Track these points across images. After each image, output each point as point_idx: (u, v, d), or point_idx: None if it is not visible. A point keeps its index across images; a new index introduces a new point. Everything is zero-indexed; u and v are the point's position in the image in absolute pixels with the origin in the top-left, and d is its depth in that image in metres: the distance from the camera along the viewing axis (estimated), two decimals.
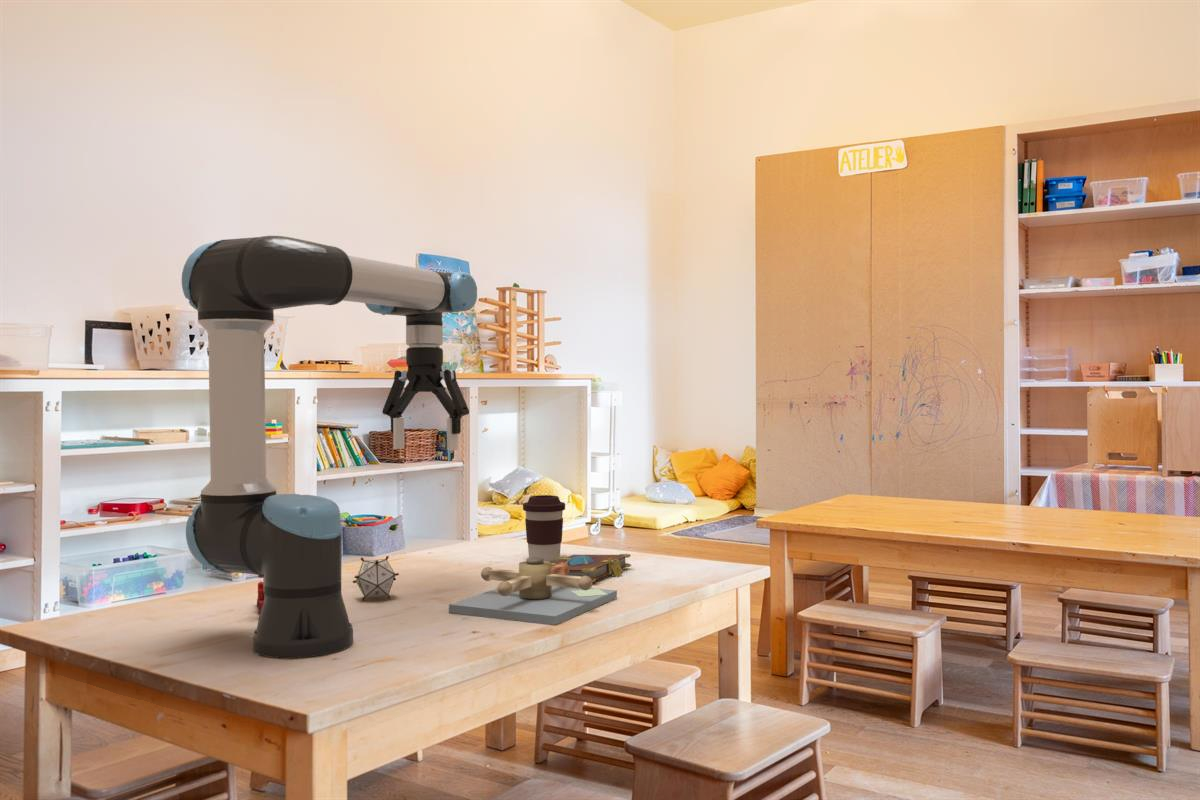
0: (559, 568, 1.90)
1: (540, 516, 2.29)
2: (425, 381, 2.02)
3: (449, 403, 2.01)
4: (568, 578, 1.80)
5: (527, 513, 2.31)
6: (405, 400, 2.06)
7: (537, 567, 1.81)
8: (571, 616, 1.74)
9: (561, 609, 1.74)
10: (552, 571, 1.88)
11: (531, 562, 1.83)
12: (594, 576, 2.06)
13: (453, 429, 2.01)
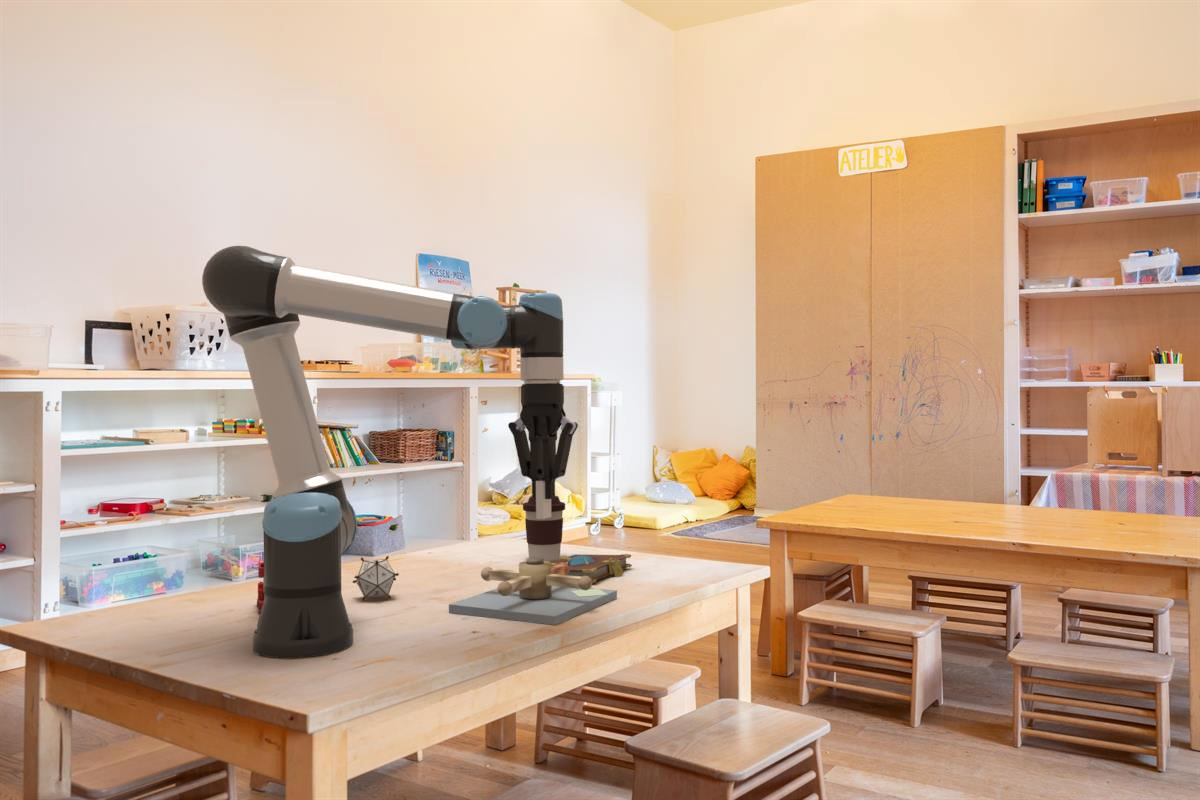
0: (559, 568, 1.90)
1: None
2: (542, 423, 1.70)
3: (551, 462, 1.71)
4: (568, 578, 1.80)
5: (527, 513, 2.31)
6: (537, 451, 1.72)
7: (537, 567, 1.81)
8: (571, 616, 1.74)
9: (561, 609, 1.74)
10: (552, 571, 1.88)
11: (531, 562, 1.83)
12: (594, 576, 2.06)
13: (547, 493, 1.72)
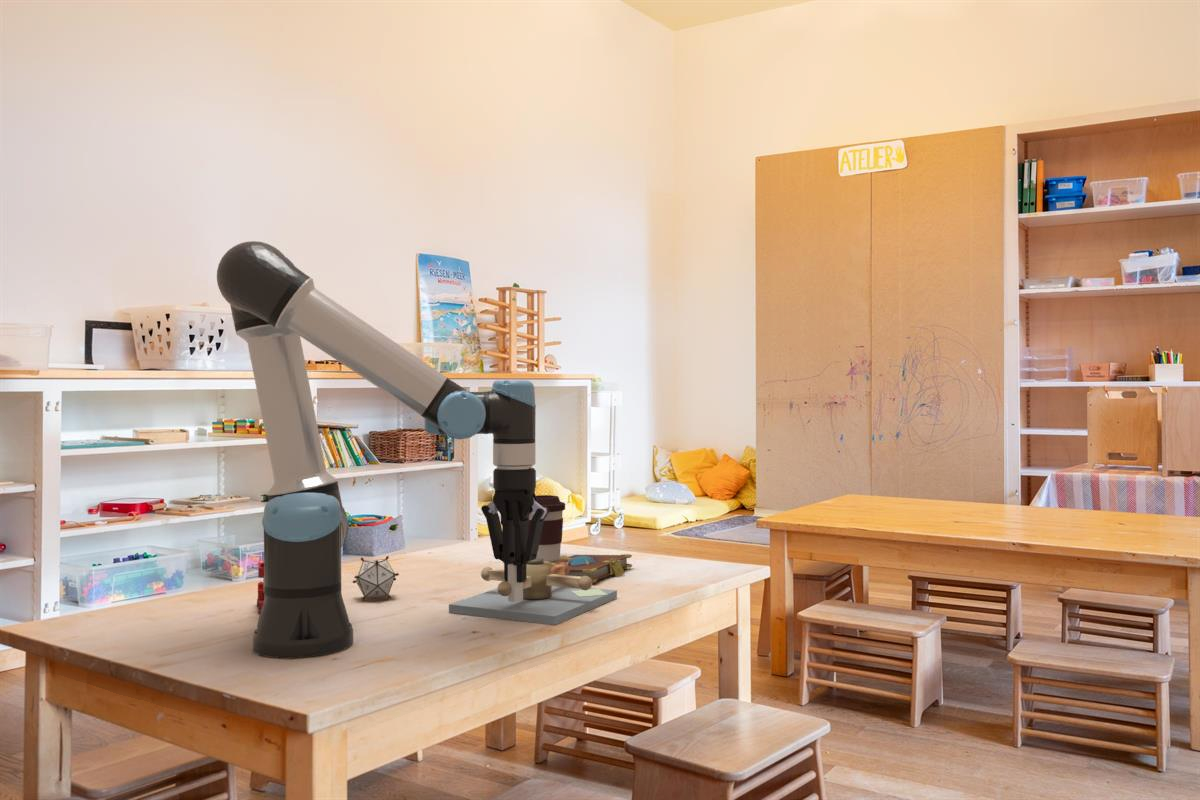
0: (559, 568, 1.90)
1: None
2: (514, 508, 1.73)
3: (522, 546, 1.74)
4: (568, 578, 1.80)
5: None
6: (509, 535, 1.75)
7: (537, 567, 1.81)
8: (571, 616, 1.74)
9: (561, 609, 1.74)
10: (552, 571, 1.88)
11: (531, 562, 1.83)
12: (595, 576, 2.06)
13: (518, 577, 1.74)
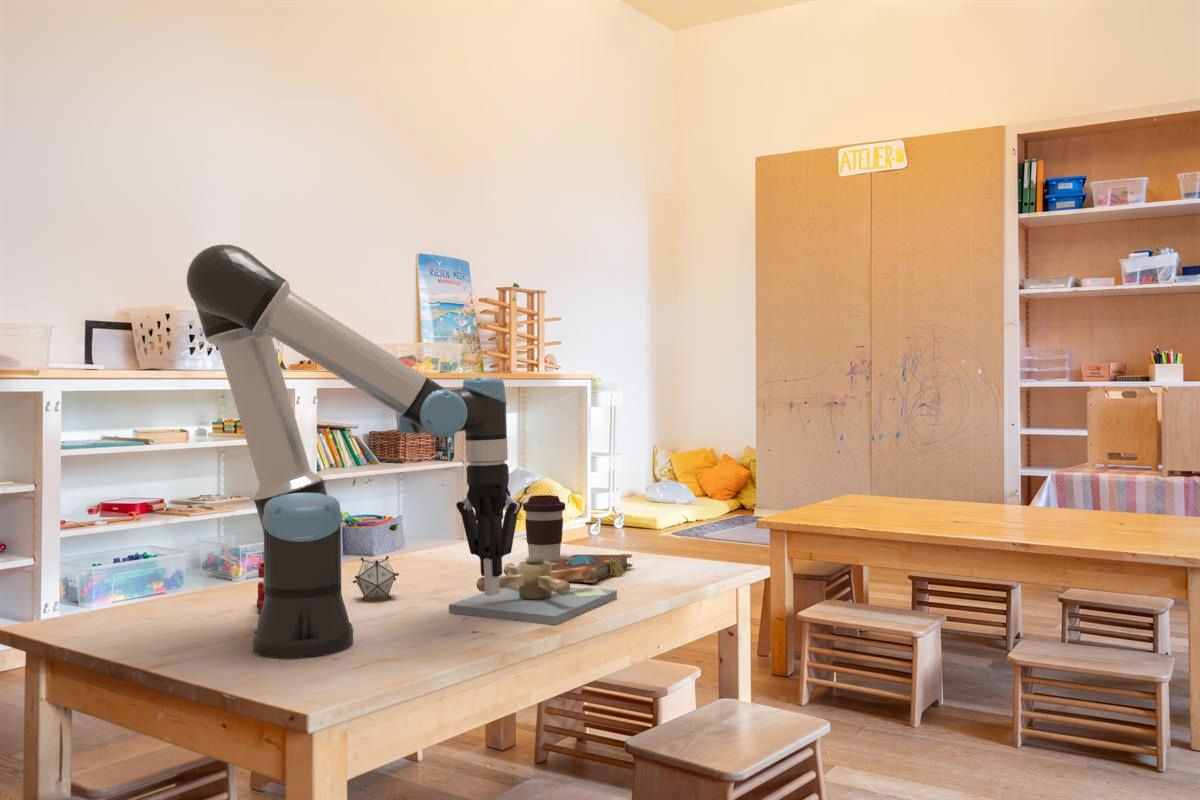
0: (573, 571, 1.87)
1: (540, 516, 2.29)
2: (487, 504, 1.76)
3: (497, 540, 1.77)
4: (550, 581, 1.77)
5: (527, 513, 2.31)
6: (484, 530, 1.78)
7: (528, 567, 1.81)
8: (571, 616, 1.74)
9: (561, 609, 1.74)
10: (560, 573, 1.86)
11: (528, 562, 1.83)
12: (595, 576, 2.06)
13: (494, 571, 1.77)
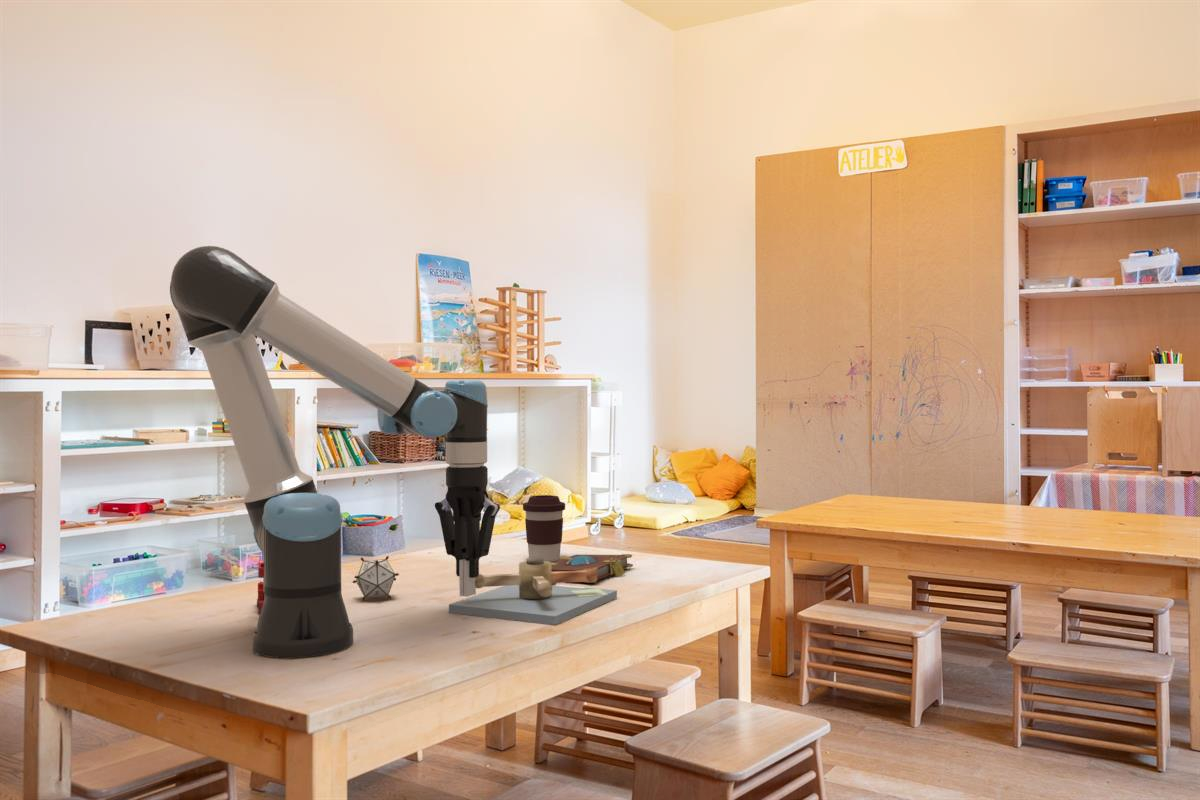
0: (576, 573, 1.85)
1: (540, 516, 2.29)
2: (465, 505, 1.78)
3: (474, 542, 1.78)
4: (537, 582, 1.77)
5: (527, 513, 2.31)
6: (461, 531, 1.80)
7: (524, 567, 1.82)
8: (571, 616, 1.74)
9: (561, 609, 1.74)
10: (562, 575, 1.84)
11: (527, 561, 1.84)
12: None
13: (470, 572, 1.79)
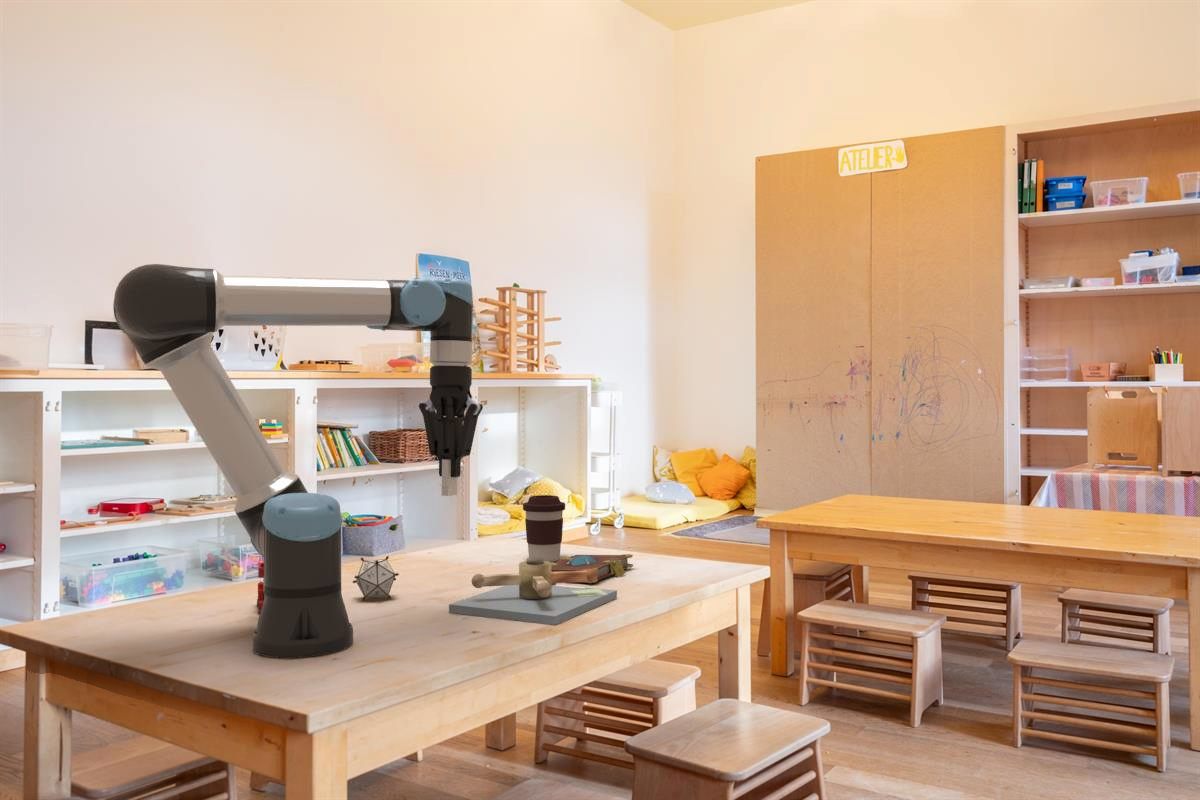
0: (576, 573, 1.85)
1: (540, 516, 2.29)
2: (448, 404, 1.78)
3: (456, 441, 1.78)
4: (536, 582, 1.77)
5: (527, 513, 2.31)
6: (444, 431, 1.79)
7: (524, 566, 1.82)
8: (571, 616, 1.74)
9: (561, 609, 1.74)
10: (562, 575, 1.84)
11: (526, 561, 1.84)
12: None
13: (452, 472, 1.79)
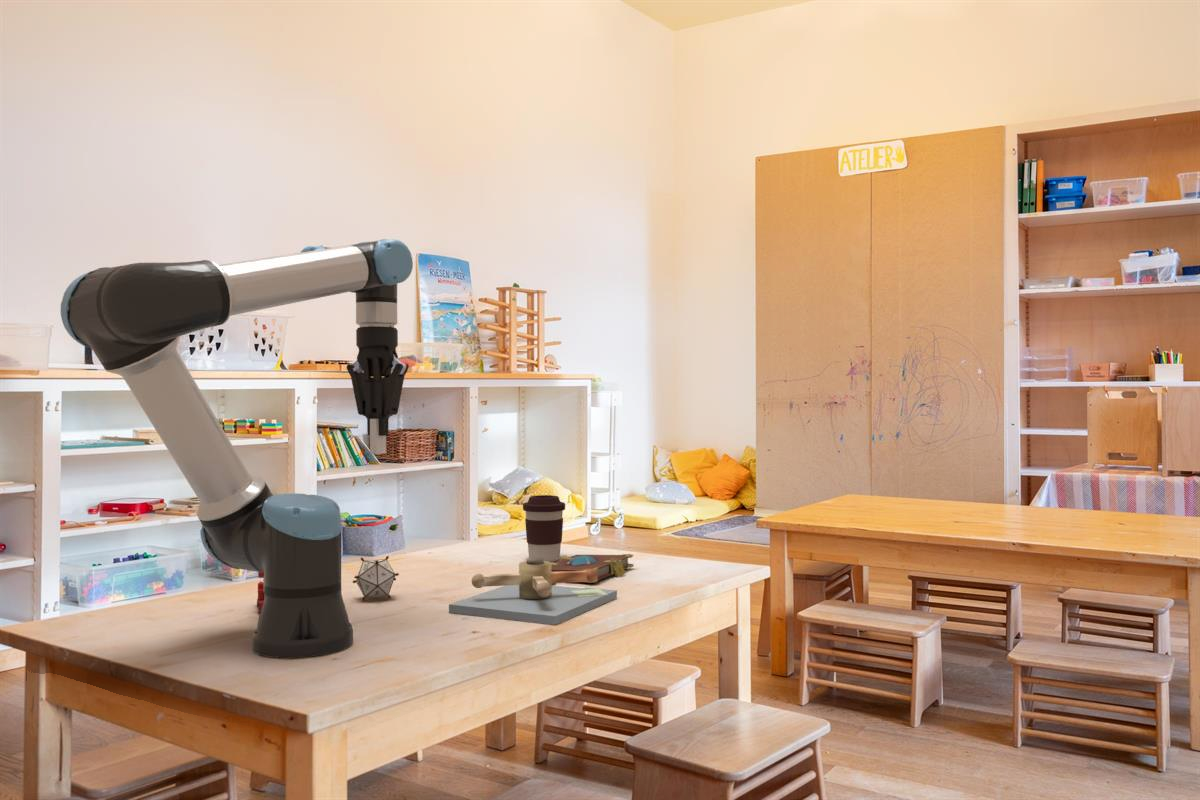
0: (576, 573, 1.85)
1: (540, 516, 2.29)
2: (375, 364, 1.82)
3: (383, 401, 1.83)
4: (536, 582, 1.77)
5: (527, 513, 2.31)
6: (371, 391, 1.84)
7: (524, 566, 1.82)
8: (571, 616, 1.74)
9: (561, 609, 1.74)
10: (562, 575, 1.84)
11: (526, 561, 1.84)
12: None
13: (380, 430, 1.83)
